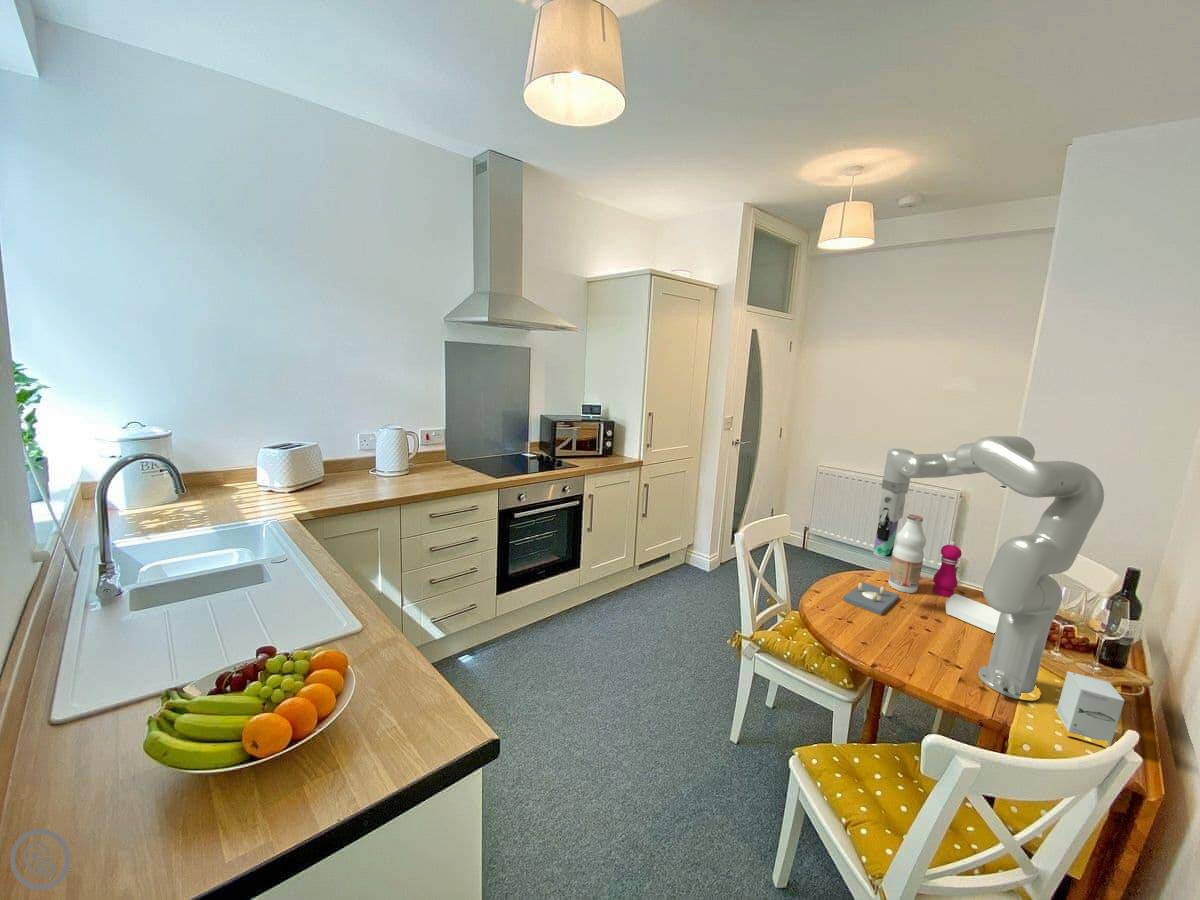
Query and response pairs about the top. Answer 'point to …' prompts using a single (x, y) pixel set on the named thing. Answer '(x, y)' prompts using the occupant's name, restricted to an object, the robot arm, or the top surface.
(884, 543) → the spray can
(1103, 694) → the supplement box
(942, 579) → the pepper mill
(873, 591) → the pin board
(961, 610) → the white long bar
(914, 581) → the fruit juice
